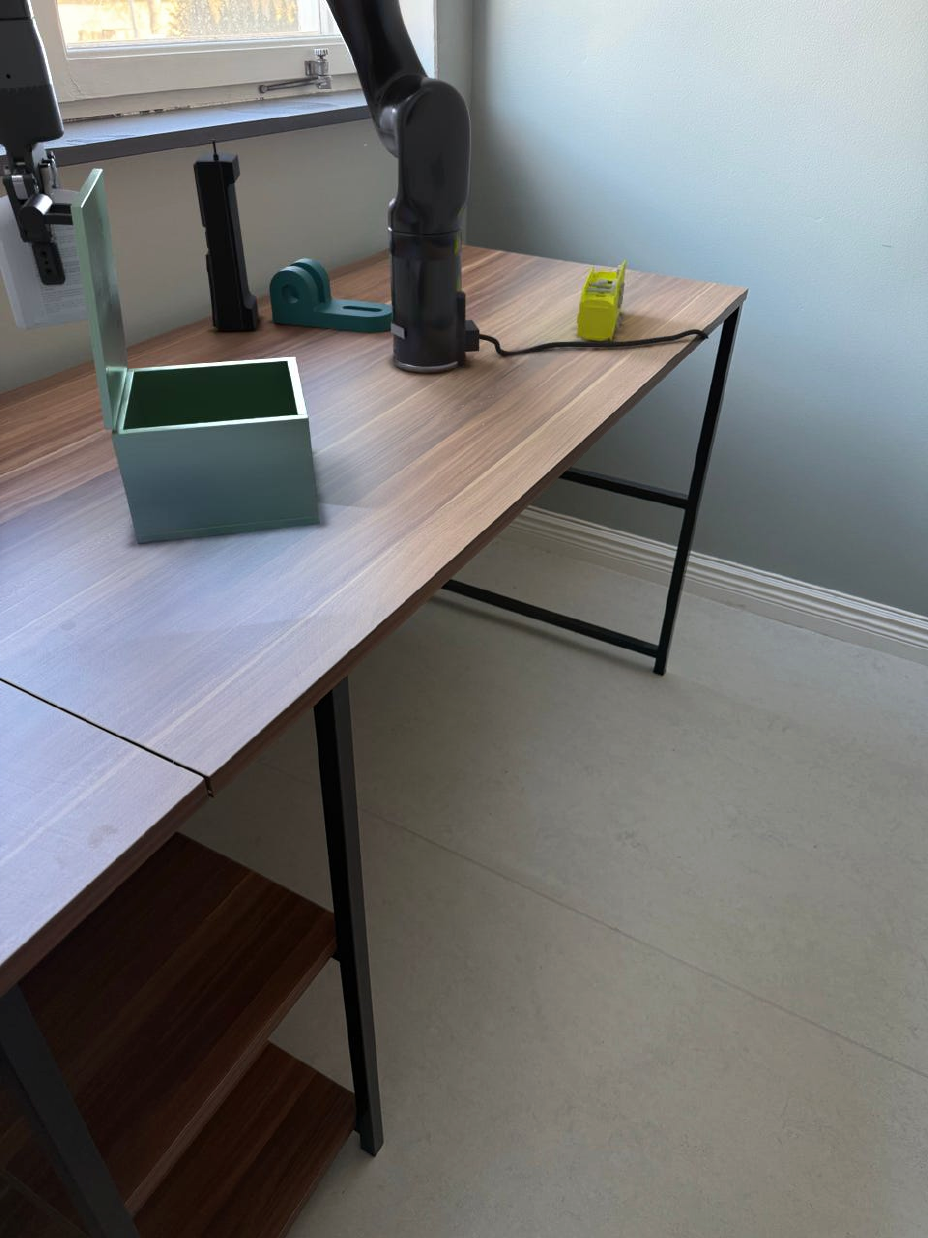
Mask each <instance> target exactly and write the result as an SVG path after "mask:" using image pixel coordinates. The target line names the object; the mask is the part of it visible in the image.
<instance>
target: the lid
mask: <svg viewBox="0 0 928 1238" xmlns="http://www.w3.org/2000/svg"><path fill="white" fill-rule="evenodd" d="M78 192H79V193H78V195H77V197H76V198H75V200H74V202H73V203H72V204H68V203H52V201H51V200H50V198H49V197H47V196H46V195H44V194H40V193H37V194H33V195H32V196H31V197H30V198H29V199H28V200H27V202H26V203H25V204H24V205H23V207H22V208H21V209H20V210H19V213H18V220H19V223H20V225H21V226H22V227H23V228H24V229H25V230H27V231H29V232H32V233H38V232H40V231H42V230H43V229H44V227H45V226H46V224H52V225H73V227H74V233H75V240H76V246H77V253H78V259H79V266H80V272H81V279H82V285H83V292H84V298H85V305H86V311H87V317H88V320H87V322H88V324H87V325H88V330H89V336H90V343H91V349H92V356H93V362H94V369H95V376H96V382H97V388H98V395H99V401H100V407H101V414H102V420H103V427H104V430H107V431H108V430H111V431H112V429H115V425H116V420H117V415H118V410H119V406H120V401H121V396H122V391H123V387H124V382H125V377H126V372H127V369H129V368H128V366H129V361H128V360H129V359H128V353H127V351H128V350H127V345H126V337H125V330H124V323H123V321H124V320H123V313H122V308H121V298H120V293H119V292H120V291H119V284H118V277H117V270H116V269H117V268H116V261H115V253H114V246H113V240H112V238H113V237H112V230H111V222H110V217H109V216H110V215H109V209H108V202H107V201H108V199H107V194H106V193H107V192H106V186H105V177H104V171H103V169H102V168H92V170H91V171H90V172H89V175H88V177H87V178H86V180H85V181H84V183H83V184H82V186H81V188H80V190H79V191H78ZM53 213H55V214H53Z"/></svg>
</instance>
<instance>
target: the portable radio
mask: <svg viewBox="0 0 928 1238" xmlns="http://www.w3.org/2000/svg"><path fill="white" fill-rule="evenodd" d="M210 141H211V142H212V148H213V152H203V153H202V154H201V155H200V156H199V157H198V159H196V160H195V162H194V163H193V173H194V180H195V186H196V193H197V199H198V205H199V211H200V212H199V213H200V220H201V226H202V227H203V228H204V237H205V242H206V249H207V252H206V254H205V256H204V257H205V265H206V266H205V267H206V273H207V280H208V287H209V296H210V305H211V317H212V318H211V319H212V326H213V328H216V331H217V332H239V331H241V332H243V331H251V330H256V327H257V325H258V320H259V317H260V316H259V308H258V299H257V296H256V295H254V294H252V293H251V291H250V286H249V280H248V273H247V266H246V259H245V249H244V242H243V237H242V236H243V235H242V228H241V221H240V214H239V206H238V201H237V193H236V192H237V191H236V185H235V183H236V182H237V180H238V179H239V177H240V176H241V170H240V162H239V154H237V153H233V152H232V153H231V152H218V151H217V148H216V147H217V146H216V141H217V139H214V138H213V139H212V138H211V139H210Z"/></svg>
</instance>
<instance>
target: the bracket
mask: <svg viewBox="0 0 928 1238" xmlns="http://www.w3.org/2000/svg"><path fill="white" fill-rule="evenodd" d="M330 281H331V280H330V277H329V274H328V272H327V271H326V269H325V268H324V266H322V264H320V263H319V262H318V261H316V260H314V259H311V258H306V257H305V258H300V259H298V260H296V261H294V262H293V263H291V264H290V265H288V266H286V267H284V268H283V269H281V270H279V271H278V272H276V273H275V274H274V275H273V276H272V278H271V279H270V283H269V285H268V286H269V289H268V291H269V301H270V307H271V315H272V323H275V324H284V325H285V324H286V325H292V326H293V325H295V326H302V327H303V326H304V327H314V328H322V329H332V330H339V331H341V330H342V331H351V332H361V333H380V332H384V331H389V330H391V323H392V305H390V304H387V303H381V302H371V301H360V300H351V299H342V298H341V299H339V298H333V297H332V294H331V282H330Z"/></svg>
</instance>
